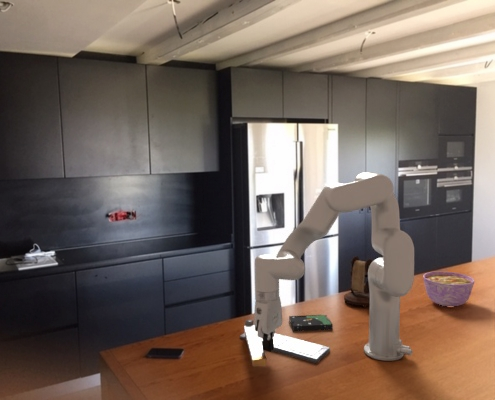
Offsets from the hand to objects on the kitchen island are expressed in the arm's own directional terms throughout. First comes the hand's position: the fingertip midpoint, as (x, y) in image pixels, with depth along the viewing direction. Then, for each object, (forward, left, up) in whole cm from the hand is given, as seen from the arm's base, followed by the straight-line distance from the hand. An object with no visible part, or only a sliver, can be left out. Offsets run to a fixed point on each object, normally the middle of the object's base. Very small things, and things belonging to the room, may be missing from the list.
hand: (268, 349), depth 149 cm
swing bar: (+7, -2, -2) cm, 7 cm away
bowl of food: (-36, -86, -4) cm, 93 cm away
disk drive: (+2, -33, -4) cm, 34 cm away
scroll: (-5, -68, -4) cm, 68 cm away
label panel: (+2, -12, -3) cm, 12 cm away
